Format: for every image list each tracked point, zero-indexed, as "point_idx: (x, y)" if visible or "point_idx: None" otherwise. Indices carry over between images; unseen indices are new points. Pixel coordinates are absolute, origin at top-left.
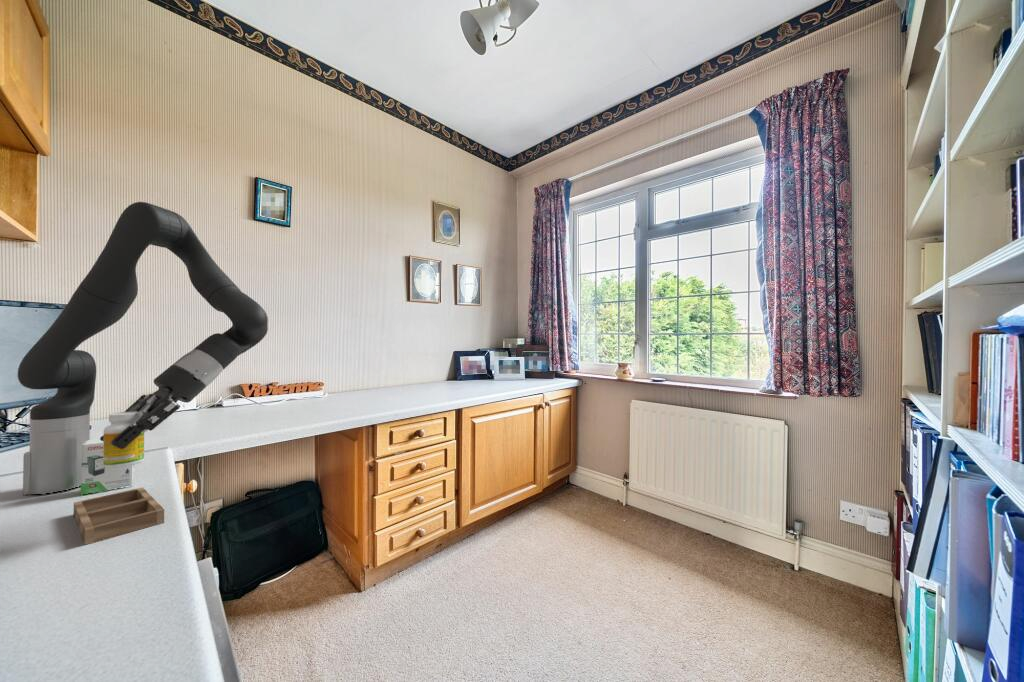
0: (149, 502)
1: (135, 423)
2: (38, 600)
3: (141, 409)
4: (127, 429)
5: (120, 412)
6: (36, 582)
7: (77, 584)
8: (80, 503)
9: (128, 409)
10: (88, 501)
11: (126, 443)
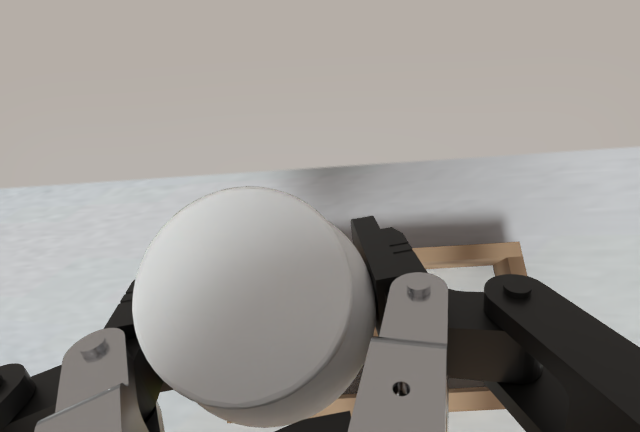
0: (340, 399)
1: (68, 354)
2: (40, 212)
3: (98, 427)
4: (127, 311)
5: (330, 263)
6: (120, 207)
7: (43, 253)
8: (493, 254)
9: (574, 345)
10: (508, 271)
11: None
